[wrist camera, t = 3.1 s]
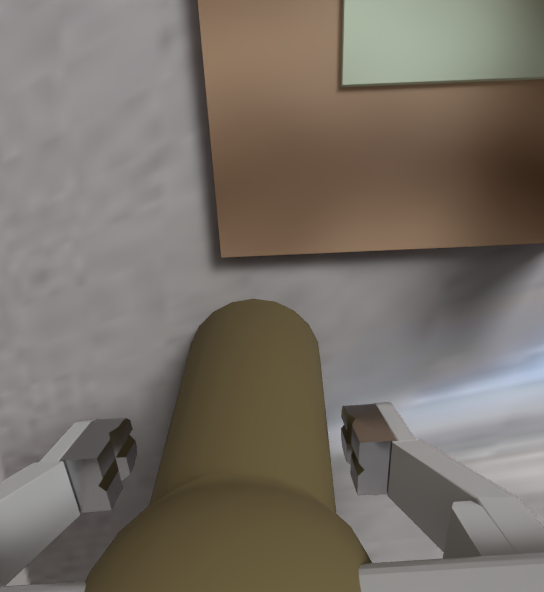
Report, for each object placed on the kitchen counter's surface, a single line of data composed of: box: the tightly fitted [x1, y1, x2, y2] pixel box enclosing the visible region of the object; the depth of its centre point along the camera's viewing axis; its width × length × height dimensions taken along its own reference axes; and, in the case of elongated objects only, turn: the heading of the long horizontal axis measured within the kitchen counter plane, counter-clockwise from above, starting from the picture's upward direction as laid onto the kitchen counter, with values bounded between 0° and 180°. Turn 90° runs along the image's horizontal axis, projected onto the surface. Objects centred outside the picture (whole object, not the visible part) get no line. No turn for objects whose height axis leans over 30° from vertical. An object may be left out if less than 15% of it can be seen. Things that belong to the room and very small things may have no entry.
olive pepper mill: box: [84, 299, 372, 592], centre depth 8 cm, size 6×6×11 cm
